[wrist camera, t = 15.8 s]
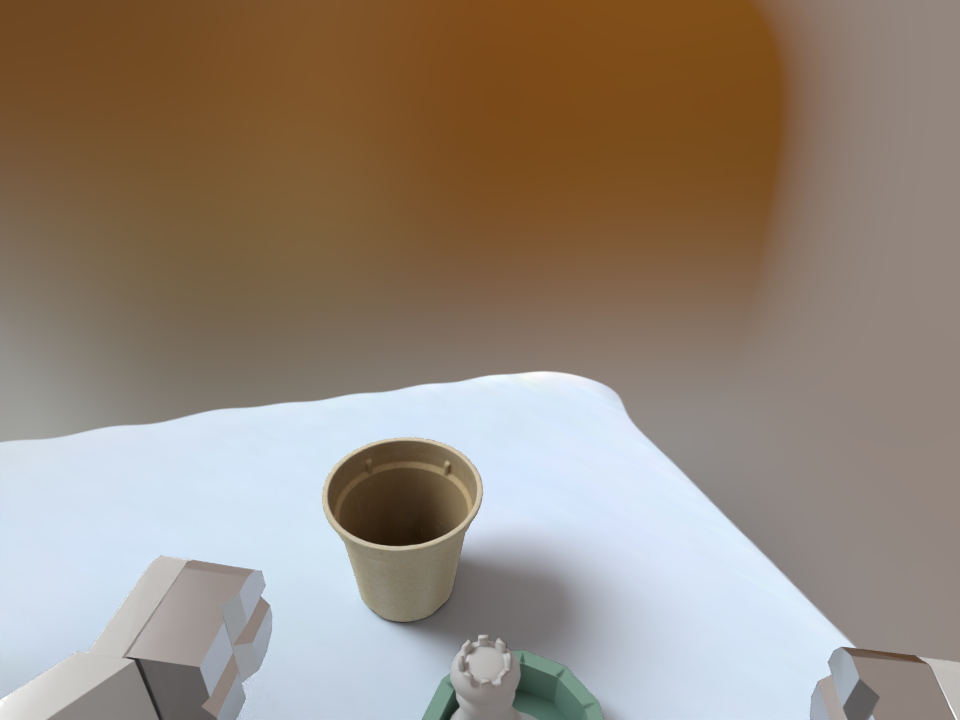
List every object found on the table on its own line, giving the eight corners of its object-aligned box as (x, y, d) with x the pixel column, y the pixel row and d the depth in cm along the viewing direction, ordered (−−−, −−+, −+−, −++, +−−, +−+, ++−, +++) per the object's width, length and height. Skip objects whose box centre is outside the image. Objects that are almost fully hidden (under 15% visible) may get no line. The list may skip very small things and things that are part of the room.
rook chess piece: (435, 794, 33) (426, 698, 29) (451, 707, 37) (445, 611, 33) (526, 808, 33) (530, 712, 28) (533, 718, 36) (537, 622, 32)
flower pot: (505, 610, 43) (512, 512, 38) (365, 674, 39) (354, 574, 34) (440, 513, 50) (440, 421, 45) (316, 560, 46) (301, 463, 41)
